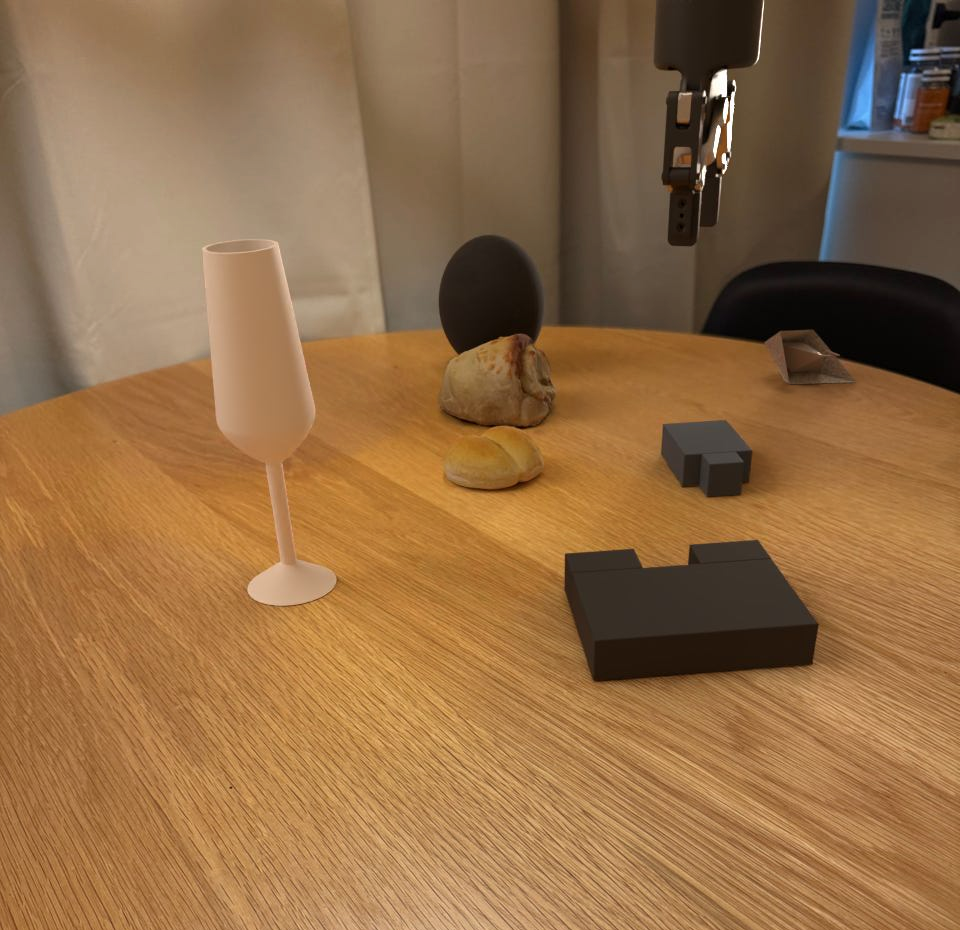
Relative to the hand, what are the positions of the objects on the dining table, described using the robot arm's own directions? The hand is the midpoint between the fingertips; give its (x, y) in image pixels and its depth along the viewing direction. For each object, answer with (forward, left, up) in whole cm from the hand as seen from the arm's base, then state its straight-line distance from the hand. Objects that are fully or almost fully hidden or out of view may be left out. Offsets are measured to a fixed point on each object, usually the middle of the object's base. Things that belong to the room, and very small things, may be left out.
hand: (693, 235), depth 79 cm
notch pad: (+6, +25, -20) cm, 33 cm away
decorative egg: (+13, -37, -21) cm, 44 cm away
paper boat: (-20, -24, -21) cm, 37 cm away
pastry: (+14, -22, -21) cm, 33 cm away
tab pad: (-3, -1, -20) cm, 21 cm away
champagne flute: (+33, +15, -21) cm, 42 cm away
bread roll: (+16, -4, -21) cm, 26 cm away
